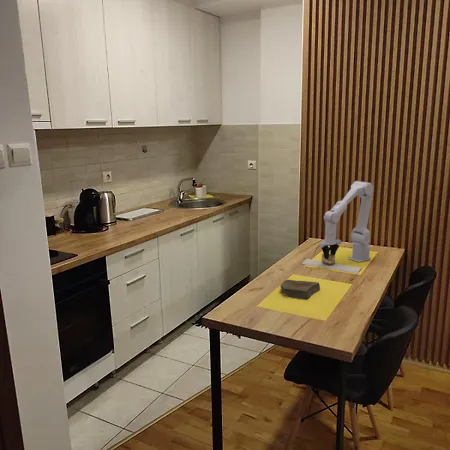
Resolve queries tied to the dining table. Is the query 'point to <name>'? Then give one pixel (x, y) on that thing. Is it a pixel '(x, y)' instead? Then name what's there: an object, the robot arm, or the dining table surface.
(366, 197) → the robot arm
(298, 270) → the dining table surface
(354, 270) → the baseboard
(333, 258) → the block
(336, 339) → the dining table surface
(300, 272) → the dining table surface
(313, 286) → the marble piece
